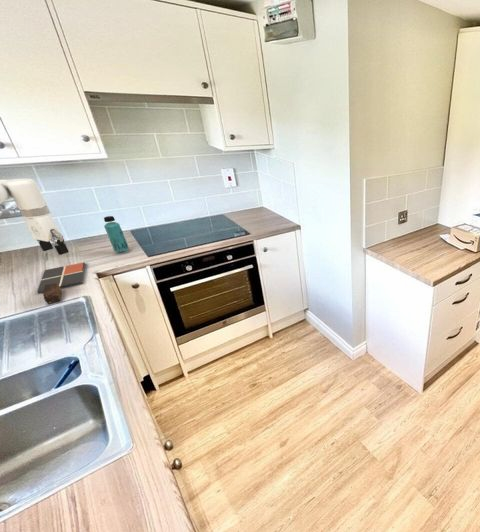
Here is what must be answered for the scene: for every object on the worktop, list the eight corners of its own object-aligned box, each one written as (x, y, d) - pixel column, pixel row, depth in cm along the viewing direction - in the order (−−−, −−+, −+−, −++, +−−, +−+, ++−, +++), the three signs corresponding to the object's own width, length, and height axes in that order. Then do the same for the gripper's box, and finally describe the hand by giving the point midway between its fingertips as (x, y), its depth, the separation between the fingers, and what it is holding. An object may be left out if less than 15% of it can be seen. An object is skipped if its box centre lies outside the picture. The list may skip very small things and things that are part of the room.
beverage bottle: (115, 255, 169) (100, 219, 160) (114, 251, 174) (99, 216, 165) (131, 252, 173) (116, 217, 164) (129, 248, 178) (116, 214, 168)
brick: (49, 294, 136) (43, 284, 133) (62, 291, 138) (57, 281, 136) (47, 305, 129) (42, 295, 126) (61, 301, 131) (55, 292, 129)
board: (38, 293, 136) (36, 291, 135) (46, 272, 152) (44, 269, 152) (82, 283, 144) (81, 281, 143) (85, 264, 160) (84, 262, 160)
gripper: (8, 211, 123) (31, 252, 131) (37, 217, 119) (58, 258, 127) (33, 206, 130) (53, 245, 138) (62, 211, 125) (80, 251, 133)
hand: (56, 251), depth 132 cm, fingers open, 9 cm apart
